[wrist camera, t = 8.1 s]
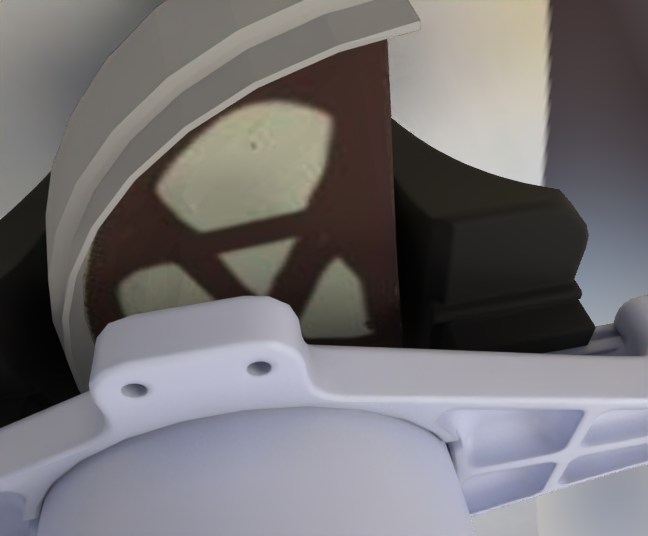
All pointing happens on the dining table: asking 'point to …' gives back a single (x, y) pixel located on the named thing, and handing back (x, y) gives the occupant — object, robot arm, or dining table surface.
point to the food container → (233, 172)
